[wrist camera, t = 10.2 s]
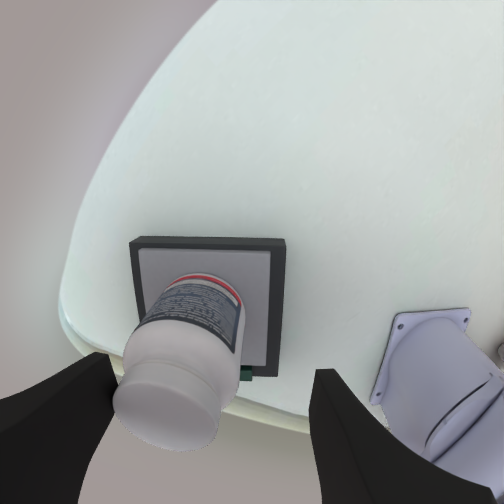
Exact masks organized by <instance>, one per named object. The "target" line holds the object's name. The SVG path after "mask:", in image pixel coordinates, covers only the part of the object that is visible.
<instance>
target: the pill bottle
mask: <svg viewBox="0 0 504 504" xmlns="http://www.w3.org/2000/svg"><path fill="white" fill-rule="evenodd" d="M245 318H246V317H245V308H244V305H243V302H242V300H241V298H240V296H239V294H238V293H237V291H236V290H235V289H234V288H233V287H232V286H231V285H230V284H229V283H227V282H226V281H224V280H223V279H221V278H218V277H216V276H213V275H210V274H204V273H192V274H187V275H184V276H181V277H179V278H177V279H176V280H174V281H173V282H172V283H171V284H169V286H168V287H167V288H166V289H165V290H164V291H163V293H162V294H161V296H160V297H159V298H158V300H157V301H156V302H155V304H154V305H153V306H152V308H151V309H150V310H149V311H148V313H147V314H146V315H145V317H144V318H143V319H142V321H141V322H140V324H139V325H138V326H137V327H136V329H135V330H134V332H133V333H132V334H131V336H130V338H129V340H128V341H127V343H126V346H125V349H124V353H123V367H124V371H125V374H124V375H123V377H122V380H121V382H120V383H119V385H118V387H117V389H116V391H115V393H114V395H113V408H114V411H115V413H116V416H117V417H118V419H119V420H120V422H121V423H122V424H123V425H124V426H125V427H126V428H127V429H128V430H129V431H130V432H131V433H132V434H134V435H135V436H137V437H138V438H140V439H141V440H143V441H145V442H147V443H149V444H151V445H154V446H157V447H159V448H162V449H166V450H172V451H180V452H184V451H185V452H186V451H195V450H198V449H202V448H204V447H206V446H208V444H210V443H211V442H212V441H213V439H214V438H215V436H216V433H217V429H218V424H219V420H220V416H221V410H223V409H224V408H225V407H226V406H228V405H229V404H230V402H231V401H232V400H233V398H234V397H235V395H236V393H237V390H238V386H239V380H240V368H241V355H242V347H243V339H244V330H245Z"/></svg>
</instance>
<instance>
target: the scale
mask: <svg viewBox="0 0 504 504" xmlns="http://www.w3.org/2000/svg"><path fill="white" fill-rule="evenodd" d="M129 247H130V257H131V266H132V274H133V282H134V289H135V296H136V302H137V308H138V314H139V320H140V322H141V321H142V319H143V318H144V317H145V315H146V314H147V313H148V311H149V310H150V309H151V308H152V306H153V305H154V304H155V302H156V301H157V300H158V298H159V297H160V296H161V294H162V293H163V291H164V290H165V289H166V288H167V287H168V286H169V284H171V283H172V282H173V281H174V280H176V279H177V278H179V277H181V276H184V275H187V274H192V273H204V274H210V275H213V276H216V277H218V278H221V279H223V280H224V281H226V282H227V283H229V284H230V285H231V286H232V287H233V288H234V289H235V290H236V291H237V293H238V294H239V296H240V298H241V300H242V302H243V305H244V308H245V317H246V318H245V330H244V339H243V347H242V355H241V368H240V380H239V381H252V376H262V377H277V376H278V367H279V354H280V341H281V328H282V313H283V298H284V281H285V263H286V244H285V240H284V239H274V238H232V237H174V236H140V237H138V238H136V239H135V240H133V241H131V242H130V243H129Z"/></svg>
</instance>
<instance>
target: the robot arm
mask: <svg viewBox="0 0 504 504" xmlns="http://www.w3.org/2000/svg"><path fill="white" fill-rule="evenodd" d="M470 316H471V310H470V309H469V308H463V309H452V310H441V311H428V312H413V313H400V314H398V315H397V316H396V318H395V320H394V324H393V328H392V332H391V336H390V339H389V343H388V347H387V350H386V353H385V357H384V360H383V363H382V366H381V370H380V373H379V376H378V379H377V382H376V385H375V387H374V390H373V393H372V396H371V398H370V403H371V405H379V404H380V405H381V407H382V409H383V412H384V414H385V417H386V419H387V422H388V424H389V427H390V429H391V432H392V434H391V433H390V432H389V431H388V430H387V429H386V428H385V427H384V426H383V425H382V424H381V423H380V422H379V421H378V420H377V419H376V418H375V417H374V416H373V415H372V414H371V413H370V412H369V411H368V410H367V409H366V407H365V406H364V405H363V404H362V403H361V402H360V401H359V400H358V398H357V397H356V396H355V395H354V393H353V392H352V391H351V390H350V388H349V387H348V386H347V385H346V383H345V382H344V381H343V379H342V378H341V377H340V376H339V374H338V373H337V372H336V370H335V369H316V372H315V378H314V383H313V389H312V395H311V400H310V405H309V423H310V435H311V440H312V445H313V450H314V455H315V460H316V465H317V471H318V475H319V481H320V487H321V494H322V504H504V374H503V373H502V371H501V370H500V369H499V368H498V367H497V366H496V365H495V364H494V363H493V361H492V360H491V359H490V358H489V357H488V356H487V355H486V354H485V353H484V352H483V351H482V350H481V349H480V348H479V347H478V346H477V345H476V344H475V343H474V342H473V341H472V340H471V338H470V337H469V336H468V335H467V334H466V333H465V331H466V328H467V325H468V322H469V319H470ZM464 319H465V320H464ZM400 324H401V326H400V327H398V325H400ZM117 387H118V383H117V380H116V377H115V374H114V371H113V368H112V365H111V362H110V359H109V355H108V354H104V353H99V352H94V353H92V354H90V355H88V356H86V357H84V358H83V359H81V360H79V361H77V362H75V363H74V364H72V365H70V366H69V367H67V368H65V369H63V370H62V371H60V372H58V373H57V374H55V375H53V376H52V377H50V378H48V379H46V380H44V381H42V382H40V383H38V384H36V385H34V386H33V387H31V388H28V389H26V390H24V391H22V392H20V393H17V394H14V395H12V396H9V397H6V398H3V399H0V504H78V499H79V495H80V491H81V487H82V483H83V480H84V477H85V474H86V471H87V468H88V465H89V463H90V461H91V458H92V456H93V454H94V452H95V450H96V448H97V446H98V444H99V443H100V440H101V439H102V437H103V435H104V433H105V431H106V429H107V427H108V425H109V424H110V422H111V420H112V418H113V416H114V413H115V411H114V408H113V395H114V393H115V391H116V389H117ZM378 392H379V393H378Z"/></svg>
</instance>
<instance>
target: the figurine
mask: <svg viewBox="0 0 504 504" xmlns="http://www.w3.org/2000/svg"><path fill="white" fill-rule="evenodd" d="M498 353H499V356H500V358H501V360H502V361H503V362H504V343H503V344H502V345H501V346H500V347H499V350H498Z"/></svg>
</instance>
